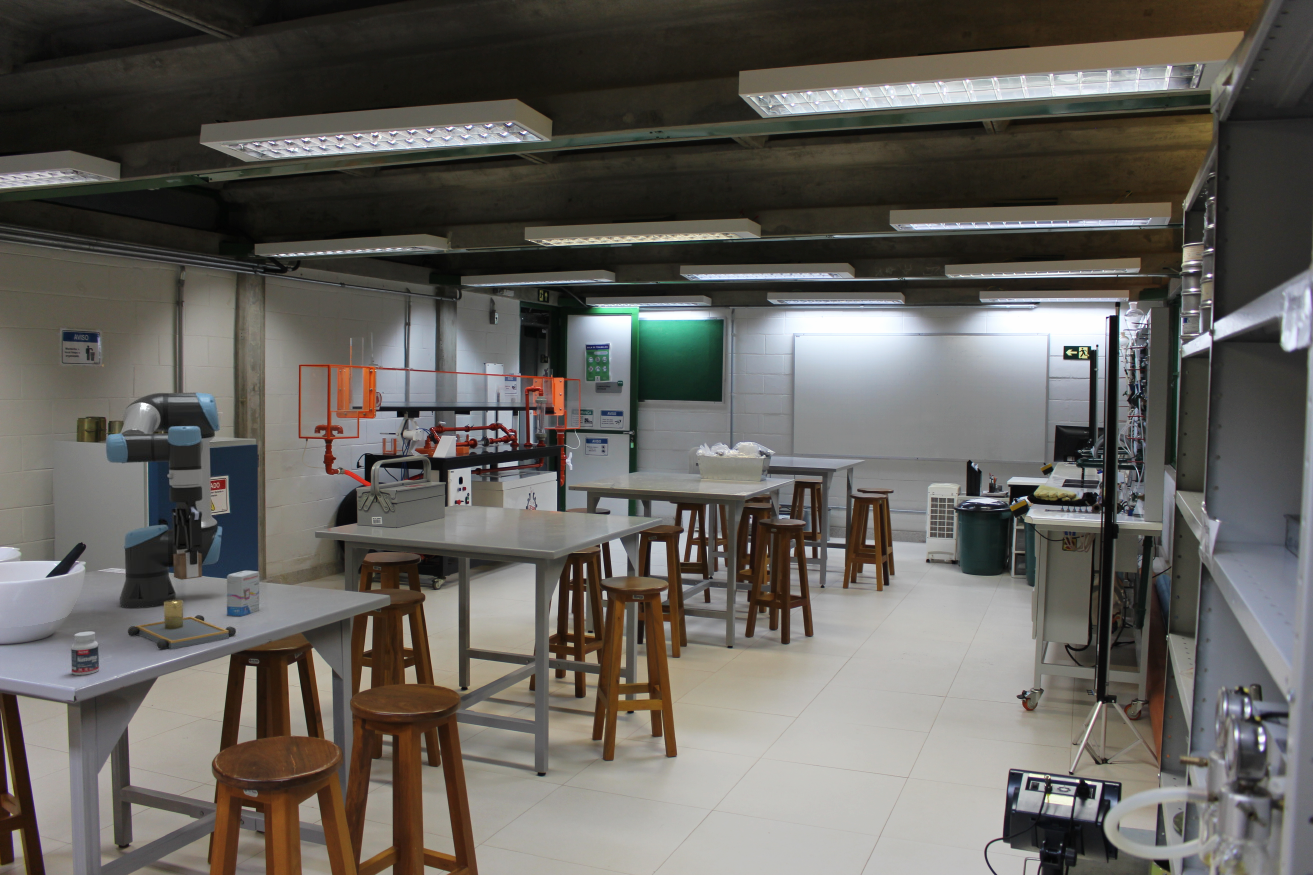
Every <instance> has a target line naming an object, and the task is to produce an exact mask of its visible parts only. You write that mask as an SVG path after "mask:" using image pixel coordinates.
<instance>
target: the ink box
mask: <svg viewBox="0 0 1313 875" xmlns="http://www.w3.org/2000/svg"><path fill="white" fill-rule="evenodd" d="M258 611H260V571H255V570H242V571H238V572H233V573H229V574H228V575H227V576H226V616H228V617H229V616H231V617H243V616H247V615H249V614H253V613H255V612H258Z"/></svg>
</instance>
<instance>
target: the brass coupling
mask: <svg viewBox="0 0 1313 875" xmlns="http://www.w3.org/2000/svg"><path fill="white" fill-rule="evenodd" d="M183 603H184V602H183V599H177V598H176V600H168V601H165V602H164V605H163V609H164V610H163V611H164V612H163V614H164V615H163V617H164V620H163V621H164V623H165V629H178V628H182V627H183V618H184V606H183V605H184V604H183Z"/></svg>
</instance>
